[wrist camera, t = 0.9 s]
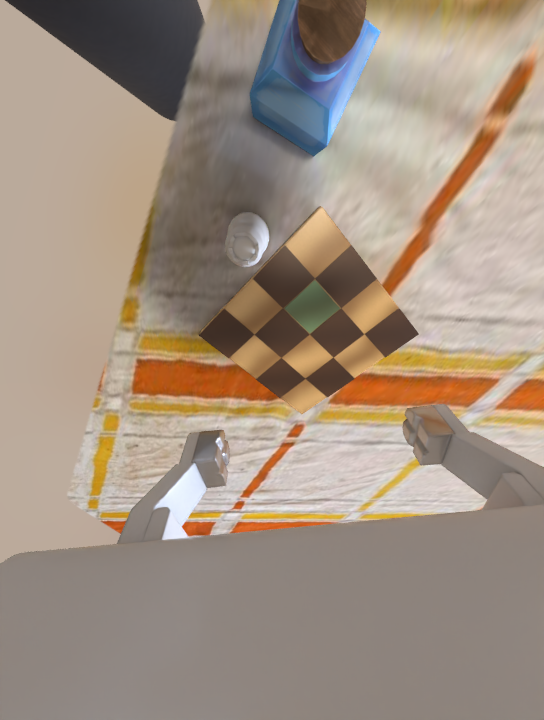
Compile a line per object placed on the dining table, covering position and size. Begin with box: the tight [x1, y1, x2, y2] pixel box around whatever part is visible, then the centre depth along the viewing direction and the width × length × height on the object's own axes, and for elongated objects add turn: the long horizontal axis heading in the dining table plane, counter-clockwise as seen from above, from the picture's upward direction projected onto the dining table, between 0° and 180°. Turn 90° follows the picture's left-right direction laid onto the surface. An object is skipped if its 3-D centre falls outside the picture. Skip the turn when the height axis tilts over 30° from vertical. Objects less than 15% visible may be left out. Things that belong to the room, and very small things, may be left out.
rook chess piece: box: [225, 212, 270, 267], centre depth 25 cm, size 4×4×8 cm
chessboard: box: [199, 206, 418, 414], centre depth 34 cm, size 20×20×1 cm
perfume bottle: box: [250, 0, 380, 156], centre depth 17 cm, size 6×6×12 cm
